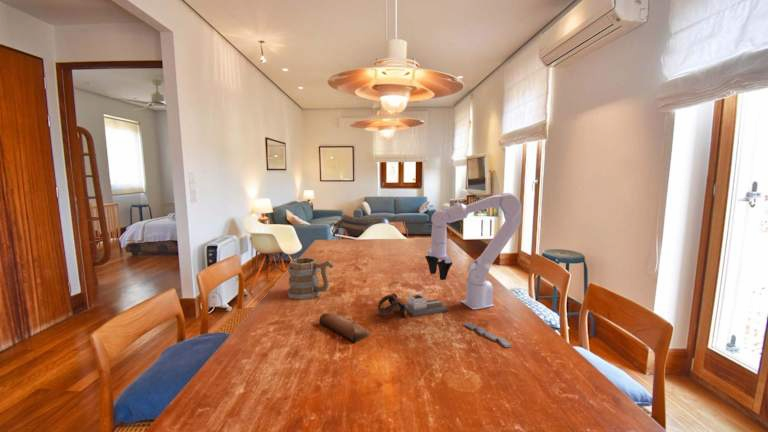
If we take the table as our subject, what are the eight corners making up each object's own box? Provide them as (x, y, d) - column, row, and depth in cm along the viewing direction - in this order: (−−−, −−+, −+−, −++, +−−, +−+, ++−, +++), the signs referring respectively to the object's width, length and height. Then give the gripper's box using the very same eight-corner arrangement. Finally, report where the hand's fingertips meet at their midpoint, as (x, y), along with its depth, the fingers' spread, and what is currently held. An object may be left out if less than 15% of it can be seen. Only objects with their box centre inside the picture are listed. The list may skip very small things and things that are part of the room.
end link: (420, 303, 123) (420, 293, 122) (426, 309, 118) (426, 298, 117) (408, 305, 121) (408, 295, 120) (414, 311, 116) (414, 300, 116)
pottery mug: (409, 322, 111) (398, 304, 108) (384, 332, 113) (373, 314, 110) (408, 300, 122) (398, 283, 119) (385, 309, 124) (375, 293, 121)
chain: (469, 323, 109) (469, 321, 109) (513, 345, 95) (514, 342, 95) (462, 326, 107) (462, 323, 107) (506, 348, 94) (506, 346, 93)
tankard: (281, 296, 132) (280, 260, 130) (300, 286, 143) (299, 253, 141) (324, 304, 124) (323, 265, 122) (340, 293, 136) (340, 257, 134)
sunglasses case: (374, 333, 102) (366, 319, 98) (360, 352, 98) (350, 337, 95) (339, 315, 114) (330, 302, 111) (324, 331, 110) (315, 318, 107)
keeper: (435, 301, 127) (435, 292, 127) (447, 311, 119) (448, 300, 118) (402, 306, 122) (402, 296, 122) (412, 316, 114) (413, 305, 113)
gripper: (420, 239, 130) (420, 272, 132) (439, 246, 117) (438, 283, 119) (436, 237, 133) (435, 270, 134) (456, 245, 119) (455, 281, 121)
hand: (437, 276), depth 127 cm, fingers open, 7 cm apart
